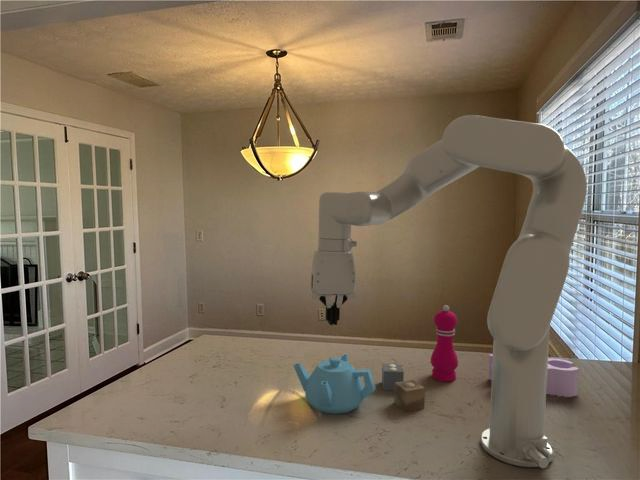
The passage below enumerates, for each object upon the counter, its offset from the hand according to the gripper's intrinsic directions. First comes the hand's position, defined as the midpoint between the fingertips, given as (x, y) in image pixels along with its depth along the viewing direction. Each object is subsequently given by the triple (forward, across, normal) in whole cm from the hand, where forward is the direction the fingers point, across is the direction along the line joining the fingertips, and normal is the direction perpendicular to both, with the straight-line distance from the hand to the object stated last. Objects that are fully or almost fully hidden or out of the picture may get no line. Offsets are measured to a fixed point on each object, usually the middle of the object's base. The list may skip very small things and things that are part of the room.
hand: (332, 323), depth 102 cm
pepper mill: (+19, -34, -8) cm, 39 cm away
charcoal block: (+19, -18, -5) cm, 26 cm away
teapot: (+19, -1, +1) cm, 19 cm away
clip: (+19, -53, +2) cm, 56 cm away
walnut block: (+19, -18, +6) cm, 26 cm away
